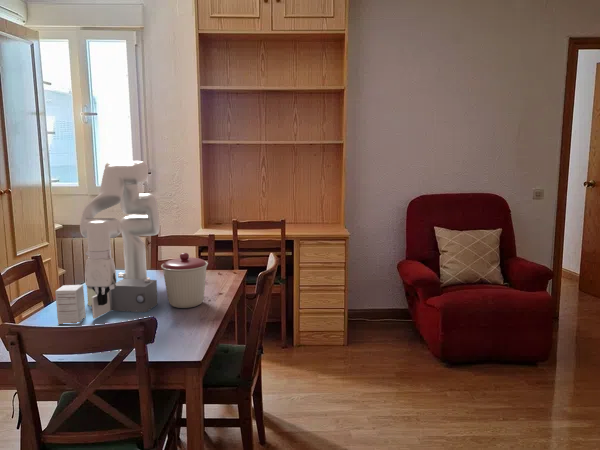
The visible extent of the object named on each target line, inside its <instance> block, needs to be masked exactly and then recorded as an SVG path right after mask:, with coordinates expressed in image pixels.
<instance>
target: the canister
mask: <svg viewBox="0 0 600 450" xmlns="http://www.w3.org/2000/svg"><path fill="white" fill-rule="evenodd" d="M208 265H209V262H208V261H206V260H204V259H203V258H199V257H190V255H189V253H187V252H181V253H180V254H179V257H178V258H173V259H169V260H167V261H165V262H164V263H162V264H161V265H160V267H161V269H162V270H163V271H162V272H163V277H164V283H165V289H166V295H167V300H168V302H169V304H170V306H172V307H174V308H176V309H177V308H179V309H190V308H194V307H197V306H199V305H201V304H202V303H203V301H204V298H205V289H206V288H205V287H206V278H207V277H206V275H207V267H208Z"/></svg>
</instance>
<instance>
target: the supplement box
mask: <svg viewBox="0 0 600 450" xmlns="http://www.w3.org/2000/svg"><path fill="white" fill-rule="evenodd" d="M54 292H55V301H56V304H55V305H56V315H57V324H63V323H77V322H80V321H81V320H82V319H83V318H84V319H86V317H87V316H86V305H85V304H86V303H85V293H84V292H85V291H84V285H83V284H65V285H64V284H63V285H62V286H61V287H59V288H57V289H56V290H55V291H54ZM84 319H83V320H84ZM83 320H82V321H83ZM82 321H81V322H82ZM81 322H80V323H81Z"/></svg>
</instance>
